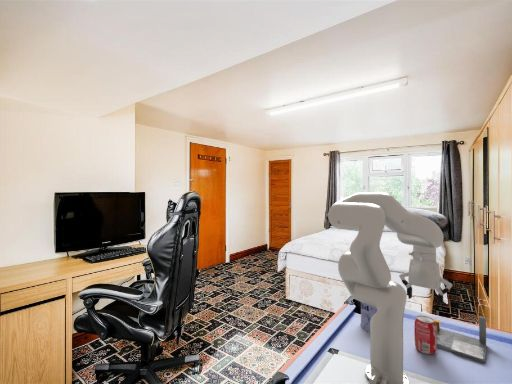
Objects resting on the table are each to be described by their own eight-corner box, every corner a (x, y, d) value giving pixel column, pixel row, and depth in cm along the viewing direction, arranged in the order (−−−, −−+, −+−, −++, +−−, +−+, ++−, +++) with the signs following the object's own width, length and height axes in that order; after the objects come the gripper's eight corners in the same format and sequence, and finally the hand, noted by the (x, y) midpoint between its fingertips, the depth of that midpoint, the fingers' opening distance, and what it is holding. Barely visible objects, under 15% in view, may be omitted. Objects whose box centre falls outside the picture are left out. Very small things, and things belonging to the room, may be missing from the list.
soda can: (429, 345, 103) (429, 315, 103) (440, 356, 96) (440, 323, 96) (411, 344, 104) (410, 314, 104) (420, 355, 97) (420, 322, 97)
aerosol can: (356, 324, 120) (356, 280, 120) (369, 321, 123) (368, 278, 123) (370, 332, 113) (370, 286, 113) (383, 328, 116) (383, 283, 116)
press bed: (484, 364, 92) (484, 332, 92) (418, 342, 105) (418, 314, 105) (486, 345, 103) (486, 317, 104) (426, 327, 117) (426, 303, 117)
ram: (434, 342, 103) (434, 333, 103) (425, 339, 105) (425, 330, 105) (440, 328, 113) (440, 320, 113) (431, 325, 115) (431, 318, 115)
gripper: (397, 254, 104) (397, 297, 104) (450, 262, 93) (451, 310, 92) (401, 251, 110) (401, 292, 109) (453, 258, 98) (453, 304, 98)
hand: (424, 301), depth 101 cm, fingers open, 9 cm apart
